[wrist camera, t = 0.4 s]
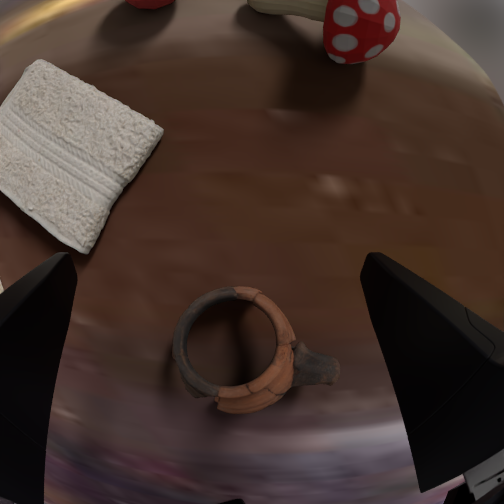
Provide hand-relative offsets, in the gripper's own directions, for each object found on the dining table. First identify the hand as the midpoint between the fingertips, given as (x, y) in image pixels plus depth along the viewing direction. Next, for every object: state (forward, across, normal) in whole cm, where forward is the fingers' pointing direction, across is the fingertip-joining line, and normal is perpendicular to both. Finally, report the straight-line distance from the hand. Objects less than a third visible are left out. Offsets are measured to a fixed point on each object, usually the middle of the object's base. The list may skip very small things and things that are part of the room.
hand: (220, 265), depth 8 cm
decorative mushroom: (+25, -9, -11) cm, 29 cm away
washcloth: (+18, +14, +1) cm, 23 cm away
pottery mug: (+8, -3, +15) cm, 17 cm away
